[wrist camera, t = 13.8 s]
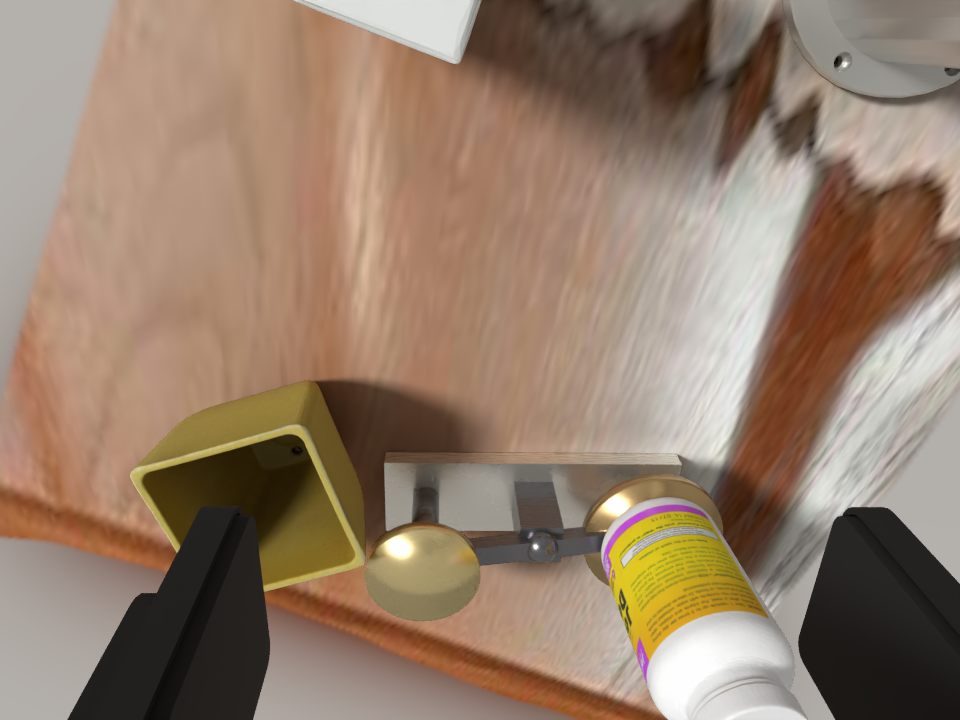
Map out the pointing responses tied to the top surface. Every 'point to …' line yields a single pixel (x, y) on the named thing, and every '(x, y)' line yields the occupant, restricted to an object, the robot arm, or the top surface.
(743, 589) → the supplement bottle
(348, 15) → the skincare box
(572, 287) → the top surface
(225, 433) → the flower pot
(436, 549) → the balance
